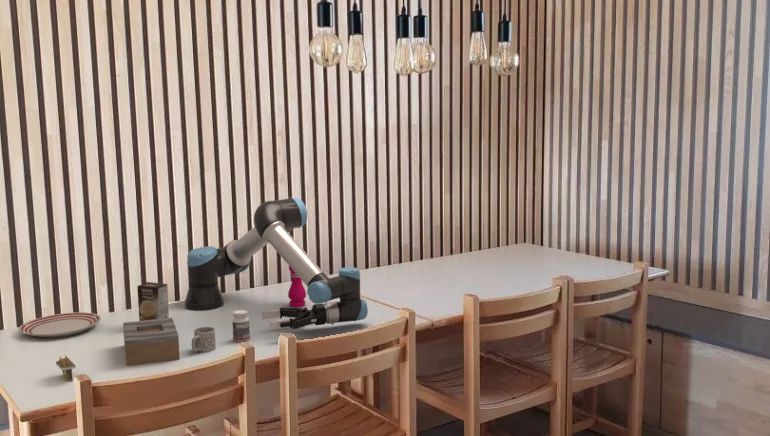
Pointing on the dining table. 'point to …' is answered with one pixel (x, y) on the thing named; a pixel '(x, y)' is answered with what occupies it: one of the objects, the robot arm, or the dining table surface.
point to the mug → (204, 339)
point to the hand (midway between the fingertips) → (265, 320)
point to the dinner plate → (60, 324)
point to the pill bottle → (241, 326)
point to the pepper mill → (296, 291)
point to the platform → (66, 367)
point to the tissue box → (150, 341)
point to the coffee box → (153, 301)
